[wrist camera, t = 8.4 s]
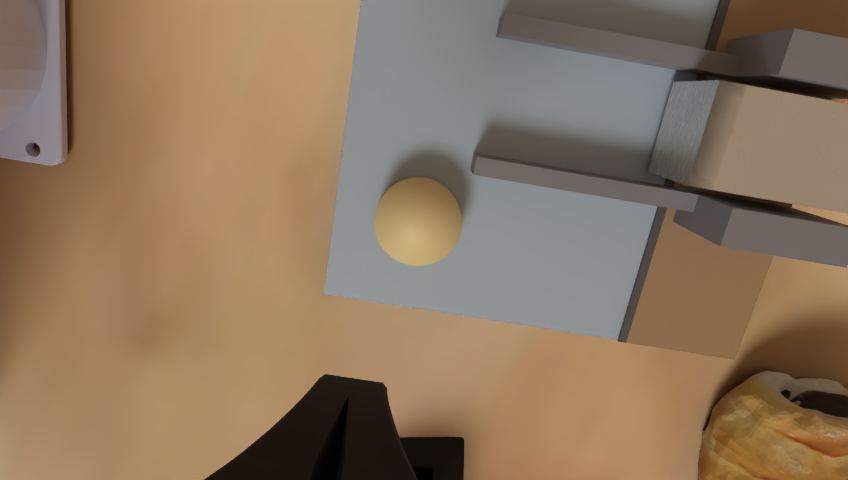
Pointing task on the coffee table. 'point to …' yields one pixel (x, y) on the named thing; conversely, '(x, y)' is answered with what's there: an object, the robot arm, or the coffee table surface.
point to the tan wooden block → (755, 143)
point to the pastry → (778, 431)
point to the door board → (568, 163)
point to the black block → (435, 457)
